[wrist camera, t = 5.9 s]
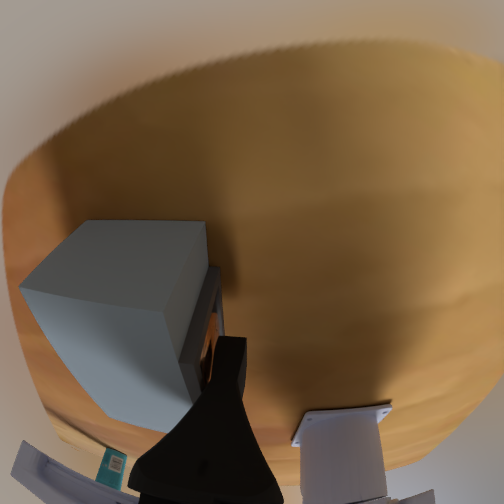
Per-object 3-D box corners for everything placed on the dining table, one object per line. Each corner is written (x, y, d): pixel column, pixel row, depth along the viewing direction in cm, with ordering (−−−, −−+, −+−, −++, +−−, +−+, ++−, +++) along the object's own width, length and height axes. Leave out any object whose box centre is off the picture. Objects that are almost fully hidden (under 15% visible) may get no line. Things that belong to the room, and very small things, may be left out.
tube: (105, 448, 42) (87, 513, 25) (99, 443, 39) (79, 512, 23) (134, 459, 42) (118, 526, 26) (130, 455, 39) (112, 527, 23)
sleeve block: (134, 354, 16) (109, 417, 12) (86, 220, 11) (18, 286, 7) (227, 367, 16) (216, 441, 12) (217, 221, 11) (181, 314, 6)
